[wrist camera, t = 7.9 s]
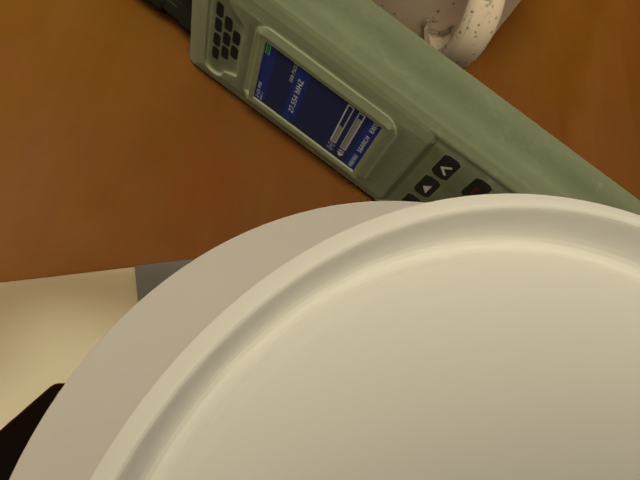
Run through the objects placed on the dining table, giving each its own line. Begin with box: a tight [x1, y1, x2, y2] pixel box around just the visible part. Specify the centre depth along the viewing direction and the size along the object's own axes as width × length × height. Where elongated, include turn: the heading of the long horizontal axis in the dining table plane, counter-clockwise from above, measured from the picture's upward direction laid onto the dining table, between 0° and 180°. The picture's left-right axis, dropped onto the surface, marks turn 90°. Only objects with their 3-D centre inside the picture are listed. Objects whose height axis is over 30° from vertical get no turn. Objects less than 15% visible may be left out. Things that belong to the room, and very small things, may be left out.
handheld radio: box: [147, 0, 640, 215], centre depth 20 cm, size 7×3×25 cm
